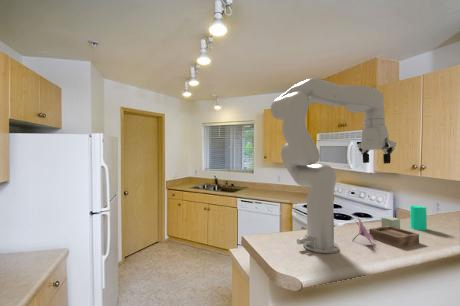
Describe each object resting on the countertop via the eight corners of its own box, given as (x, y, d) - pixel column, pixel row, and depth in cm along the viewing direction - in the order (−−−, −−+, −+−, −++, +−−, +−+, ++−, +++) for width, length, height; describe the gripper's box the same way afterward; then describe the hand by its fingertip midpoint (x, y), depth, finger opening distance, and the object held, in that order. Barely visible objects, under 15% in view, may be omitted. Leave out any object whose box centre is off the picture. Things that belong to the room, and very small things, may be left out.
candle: (429, 230, 108) (429, 204, 108) (415, 230, 109) (414, 204, 109) (421, 226, 114) (420, 202, 114) (407, 226, 115) (407, 201, 115)
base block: (398, 248, 89) (398, 237, 89) (369, 238, 100) (369, 228, 100) (419, 244, 93) (418, 234, 93) (389, 234, 104) (389, 225, 104)
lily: (361, 253, 86) (375, 231, 85) (336, 232, 96) (348, 212, 95) (376, 255, 93) (389, 235, 91) (351, 235, 103) (363, 217, 101)
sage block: (392, 233, 104) (392, 220, 104) (381, 230, 109) (381, 217, 109) (400, 232, 106) (400, 219, 106) (389, 229, 111) (389, 216, 111)
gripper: (351, 126, 109) (352, 163, 109) (387, 120, 92) (389, 164, 93) (363, 126, 111) (364, 162, 111) (400, 120, 95) (402, 163, 95)
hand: (376, 163), depth 102 cm, fingers open, 9 cm apart
